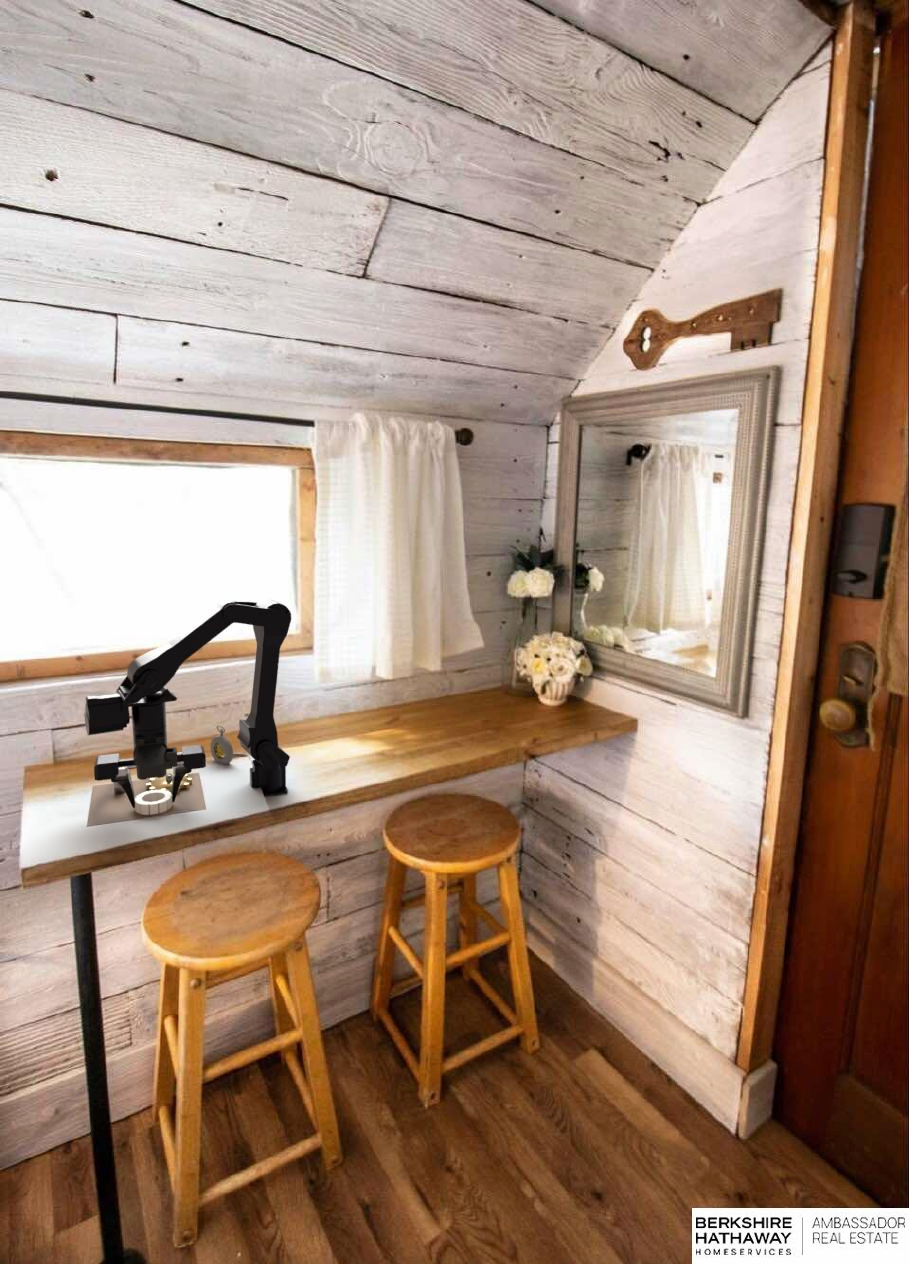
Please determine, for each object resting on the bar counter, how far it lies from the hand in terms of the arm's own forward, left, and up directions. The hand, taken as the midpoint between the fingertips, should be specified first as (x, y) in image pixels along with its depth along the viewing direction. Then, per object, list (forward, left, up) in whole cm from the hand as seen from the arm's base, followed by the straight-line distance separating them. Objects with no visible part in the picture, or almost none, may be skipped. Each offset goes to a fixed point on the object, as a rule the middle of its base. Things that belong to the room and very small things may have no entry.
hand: (153, 804), depth 129 cm
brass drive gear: (-3, -9, -1) cm, 10 cm away
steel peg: (+6, -9, -1) cm, 11 cm away
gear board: (+1, -5, -2) cm, 6 cm away
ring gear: (0, 0, 0) cm, 0 cm away
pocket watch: (-16, -20, -2) cm, 26 cm away
